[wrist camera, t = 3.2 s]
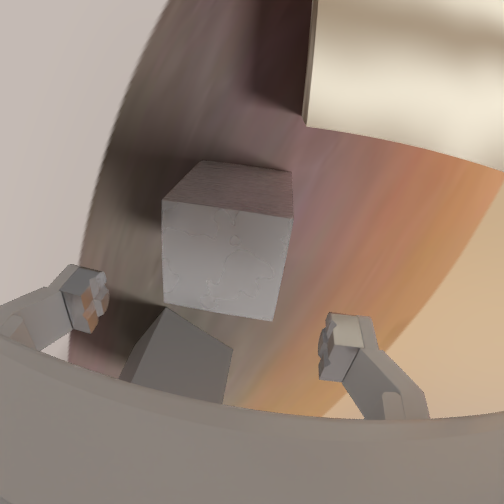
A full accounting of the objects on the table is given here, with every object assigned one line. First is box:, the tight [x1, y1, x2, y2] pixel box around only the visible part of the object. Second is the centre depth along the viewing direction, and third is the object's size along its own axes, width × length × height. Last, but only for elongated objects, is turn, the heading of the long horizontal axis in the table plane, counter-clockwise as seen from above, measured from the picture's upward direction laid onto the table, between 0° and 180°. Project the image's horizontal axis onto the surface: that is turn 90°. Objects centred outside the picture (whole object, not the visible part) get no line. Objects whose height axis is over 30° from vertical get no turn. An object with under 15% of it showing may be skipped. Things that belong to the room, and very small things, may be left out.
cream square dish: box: [302, 0, 504, 172], centre depth 12 cm, size 11×11×5 cm
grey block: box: [162, 160, 294, 321], centre depth 17 cm, size 6×6×7 cm
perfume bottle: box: [118, 307, 233, 404], centre depth 20 cm, size 7×7×18 cm
